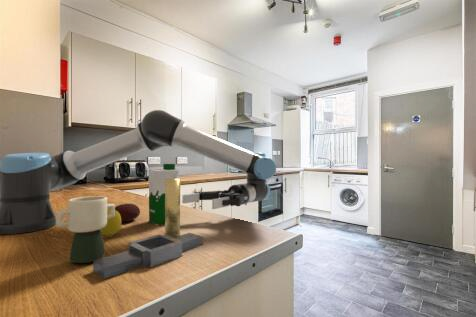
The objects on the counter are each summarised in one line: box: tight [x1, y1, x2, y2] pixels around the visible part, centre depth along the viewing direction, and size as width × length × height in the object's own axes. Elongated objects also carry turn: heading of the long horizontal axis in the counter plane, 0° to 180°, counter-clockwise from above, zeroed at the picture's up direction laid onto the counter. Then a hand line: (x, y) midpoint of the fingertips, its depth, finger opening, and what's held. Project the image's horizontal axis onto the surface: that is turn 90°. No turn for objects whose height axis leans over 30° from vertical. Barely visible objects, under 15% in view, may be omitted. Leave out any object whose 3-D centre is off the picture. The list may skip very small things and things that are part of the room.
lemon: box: [99, 208, 122, 238], centre depth 65 cm, size 6×6×8 cm
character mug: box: [55, 195, 116, 264], centre depth 50 cm, size 11×7×13 cm, turn 140°
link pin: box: [164, 178, 181, 237], centre depth 65 cm, size 4×4×16 cm
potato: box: [115, 203, 141, 223], centre depth 82 cm, size 7×10×6 cm
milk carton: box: [148, 163, 180, 226], centre depth 82 cm, size 9×9×20 cm
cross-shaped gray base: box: [92, 232, 203, 280], centre depth 52 cm, size 9×23×3 cm, turn 140°
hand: (197, 201), depth 71 cm, fingers open, 13 cm apart
